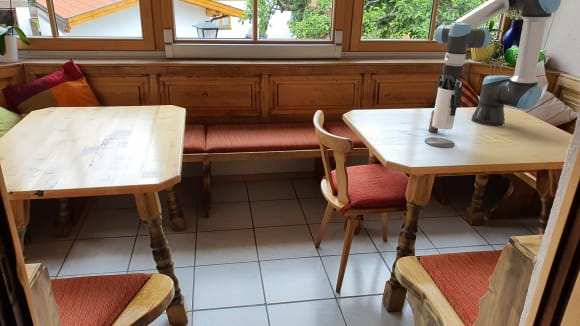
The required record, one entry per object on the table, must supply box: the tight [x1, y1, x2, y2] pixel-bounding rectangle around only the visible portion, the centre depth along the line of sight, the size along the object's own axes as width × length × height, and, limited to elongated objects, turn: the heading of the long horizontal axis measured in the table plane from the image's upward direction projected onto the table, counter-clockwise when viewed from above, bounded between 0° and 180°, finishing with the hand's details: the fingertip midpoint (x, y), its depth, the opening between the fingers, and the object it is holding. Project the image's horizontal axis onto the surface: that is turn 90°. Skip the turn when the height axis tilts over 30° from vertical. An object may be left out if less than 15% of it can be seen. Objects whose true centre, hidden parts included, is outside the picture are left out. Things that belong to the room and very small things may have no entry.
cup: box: [432, 86, 456, 130], centre depth 175 cm, size 8×8×16 cm
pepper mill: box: [428, 109, 439, 134], centre depth 194 cm, size 4×4×10 cm
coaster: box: [424, 136, 456, 149], centre depth 181 cm, size 12×12×1 cm
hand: (443, 119), depth 177 cm, fingers closed on cup, 8 cm apart
